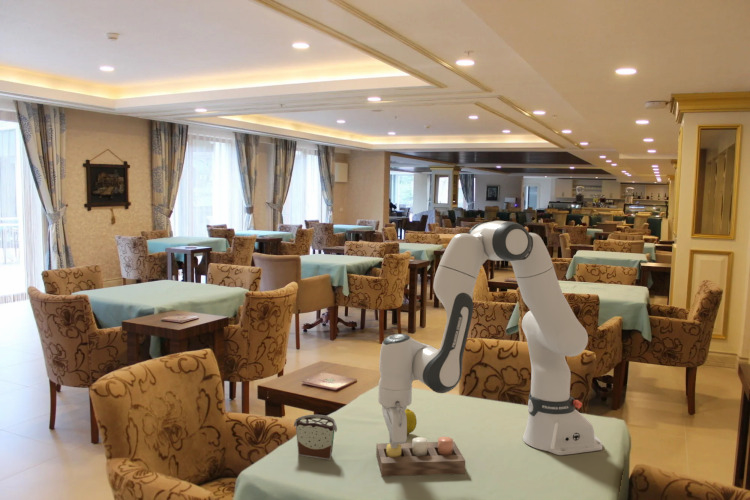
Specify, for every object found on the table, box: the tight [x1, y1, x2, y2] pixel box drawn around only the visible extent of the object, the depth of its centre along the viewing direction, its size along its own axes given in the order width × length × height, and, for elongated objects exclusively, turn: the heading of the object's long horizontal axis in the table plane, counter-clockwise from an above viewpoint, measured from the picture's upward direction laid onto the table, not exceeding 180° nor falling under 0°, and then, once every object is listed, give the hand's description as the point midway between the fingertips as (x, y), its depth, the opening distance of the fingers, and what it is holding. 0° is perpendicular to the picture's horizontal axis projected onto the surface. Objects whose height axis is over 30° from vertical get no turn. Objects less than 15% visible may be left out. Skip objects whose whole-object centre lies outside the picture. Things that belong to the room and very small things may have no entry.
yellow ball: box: [386, 444, 402, 457], centre depth 158 cm, size 4×4×4 cm
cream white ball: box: [411, 436, 428, 456], centre depth 159 cm, size 4×4×4 cm
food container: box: [293, 414, 338, 461], centre depth 164 cm, size 12×6×10 cm, turn 74°
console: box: [375, 441, 466, 477], centre depth 159 cm, size 22×12×4 cm, turn 96°
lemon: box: [405, 408, 418, 435], centre depth 178 cm, size 6×6×8 cm
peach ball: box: [437, 436, 454, 455], centre depth 159 cm, size 4×4×4 cm
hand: (393, 446), depth 158 cm, fingers closed, pressing on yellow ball
